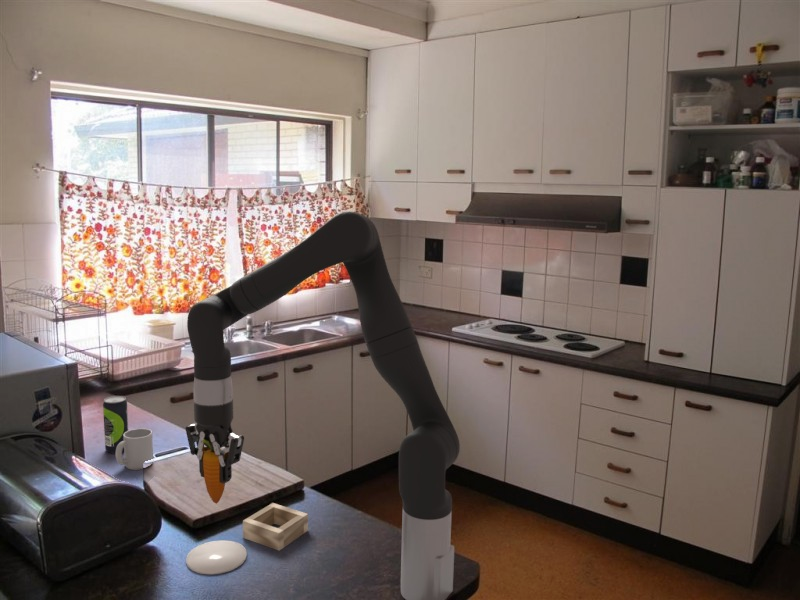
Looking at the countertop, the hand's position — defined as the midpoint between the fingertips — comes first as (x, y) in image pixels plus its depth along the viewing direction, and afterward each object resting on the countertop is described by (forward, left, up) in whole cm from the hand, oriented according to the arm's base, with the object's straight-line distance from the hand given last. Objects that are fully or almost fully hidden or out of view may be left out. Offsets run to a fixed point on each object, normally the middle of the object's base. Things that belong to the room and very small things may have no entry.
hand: (215, 478), depth 141 cm
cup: (+51, -22, -18) cm, 58 cm away
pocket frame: (-4, -14, -17) cm, 23 cm away
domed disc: (0, 0, -17) cm, 17 cm away
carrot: (0, 0, -6) cm, 6 cm away
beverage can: (+64, -27, -18) cm, 72 cm away
